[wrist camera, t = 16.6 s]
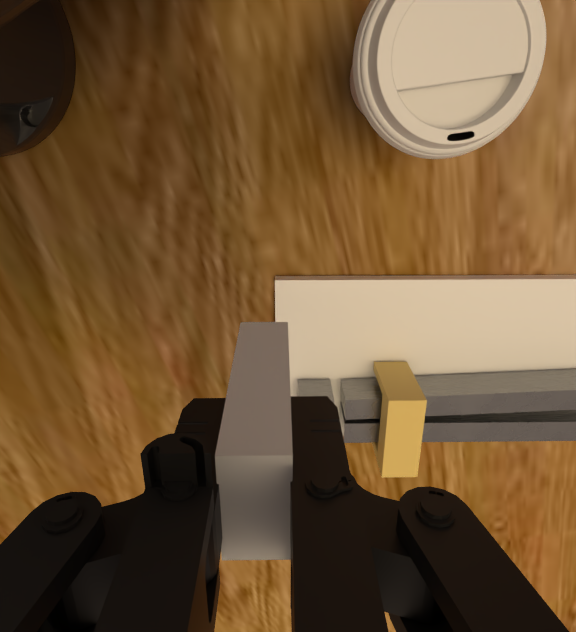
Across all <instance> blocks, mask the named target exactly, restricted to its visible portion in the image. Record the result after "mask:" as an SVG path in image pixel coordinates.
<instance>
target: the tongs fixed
mask: <svg viewBox="0 0 576 632" xmlns="http://www.w3.org/2000/svg"><path fill="white" fill-rule="evenodd" d="M298 396H328V398H329V399H330V400H331V401H332V402H333V403H334V396H333V391H332V386H331V381H330V380H298ZM339 419H340V424H341V429H342V434H343V439H344V443H363V442H378V441H379V430H380V418H376V419H353V420H345V416H344V411H343V407H342V402H340V414H339ZM480 441H576V410H558V411H535V412H512V413H490V414H467V415H444V416H425V420H424V428H423V436H422V442H480Z"/></svg>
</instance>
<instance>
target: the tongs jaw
mask: <svg viewBox="0 0 576 632" xmlns="http://www.w3.org/2000/svg"><path fill="white" fill-rule="evenodd" d="M415 378H416V380H417V382H418V384H419V386H420V388H421V390H422V392H423V394H424V396H425V398H426V400H427V404H426V412H425V416H444V415H467V414H490V413H512V412H535V411H558V410H576V369H568V370H545V371H522V372H500V373H477V374H454V375H432V376H415ZM341 402H342V407H343V411H344V416H345V420H353V419H376V418H381V407H382V392H381V389H380V386H379V384H378V381H377V378H364V379H341Z"/></svg>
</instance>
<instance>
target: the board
mask: <svg viewBox="0 0 576 632" xmlns="http://www.w3.org/2000/svg"><path fill="white" fill-rule="evenodd" d="M275 322H288V339H289V367H290V394H291V396H298V380H330V381H331V386H332V391H333V396H334V404H335V405H336V406H337V409H338V414H340V402H341V379H364V378H376V376H375V373H374V370H373V368H374V362H407V363H408V365H409V367H410V369H411V371H412V372H413V374H414V376H432V375H454V374H477V373H500V372H522V371H545V370H568V369H576V275H405V276H275Z"/></svg>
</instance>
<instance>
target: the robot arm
mask: <svg viewBox="0 0 576 632" xmlns="http://www.w3.org/2000/svg"><path fill="white" fill-rule="evenodd" d="M74 80H75V52H74V45H73V40H72V35H71V31H70V28H69V24H68V21H67V19H66V16H65V13H64V11H63V9H62V6H61V4H60V2H59V0H0V156H6V155H12V154H16V153H19V152H22V151H25V150H27V149H29V148H31V147H33V146H35V145H36V144H38V143H40V142H41V141H42V140H44V139H45V138H46V137H47V136H48V135H49V134H50V133H51V132H52V131H53V130H54V129H55V128H56V126H57V125H58V124H59V122H60V121H61V119H62V117H63V116H64V114H65V112H66V110H67V107H68V105H69V102H70V99H71V96H72V92H73V87H74ZM141 460H142V468H143V475H144V482H145V491H144V493H143V494H141V495H139V496H137V497H135V498H133V499H130V500H127V501H124V502H120V503H116V504H112V505H108V506H104V507H101V503H100V502H99V500H98V499H97V498H96V497H95V496H93V495H91V494H88V493H86V492H70V493H65V494H61V495H57V496H55V497H53V498H51V499H49V500H47V501H45V502H43V503H42V504H40V505H39V506H38V507H37V508H35V509H34V510H33V511H32V512H31V513H30V514H29V515H28V516H27V517H26V518H25V519H24V520H23V521H22V522H21V523H20V524H19V525H18V526H17V528H16V529H15V530H14V531H13V532H12V533H11V534H10V535H9V536H8V537H7V538H6V539H5V540H4V541H3V542H2V543H1V544H0V632H214V628H215V620H216V612H217V604H218V596H219V588H220V576H219V560H220V553H221V552H222V560H286V559H291V619H292V632H388V628H387V623H386V618H385V613H384V612H388V613H389V616H390V619H391V621H392V624H393V626H394V628H395V630H396V632H569V631H568V630H567V628H566V627H565V626H564V625H563V623H562V622H561V621H560V620H559V619H558V617H557V616H556V615H555V614H554V612H553V611H552V610H551V609H550V607H549V606H548V605H547V604H546V602H545V601H544V600H543V599H542V597H541V596H540V595H539V594H538V593H537V591H536V590H535V589H534V588H533V586H532V585H531V584H530V583H529V581H528V580H527V579H526V578H525V576H524V575H523V574H522V573H521V571H520V570H519V569H518V568H517V567H516V565H515V564H514V563H513V562H512V560H511V559H510V558H509V557H508V555H507V554H506V553H505V552H504V550H503V549H502V548H501V547H500V546H499V544H498V543H497V542H496V541H495V539H494V538H493V537H492V536H491V534H490V533H489V532H488V531H487V529H486V528H485V527H484V526H483V524H482V523H481V522H480V521H479V520H478V518H477V517H476V516H475V515H474V513H473V512H472V511H471V510H470V508H469V507H468V506H467V505H466V504H465V503H464V502H463V501H462V500H461V499H460V498H458V497H457V496H456V495H454V494H452V493H450V492H448V491H446V490H443V489H439V488H434V487H417V488H414V489H412V490H409V491H407V492H406V493H405V494H404V495H403V496H402V497H401V498H400V501H396V500H392V499H388V498H384V497H380V496H377V495H374V494H372V493H370V492H368V491H366V490H364V489H363V488H362V487H361V486H359V485H358V484H357V482H356V480H355V478H354V477H353V476H352V475H351V473H350V470H349V465H348V460H347V455H346V450H345V445H344V439H343V434H342V429H341V424H340V419H339V414H338V409H337V406H336V405H335V404H334V403H333V402H332V401H331V400H330V399H329V398H328V396H291V394H290V367H289V339H288V322H241V323H240V329H239V334H238V339H237V344H236V349H235V354H234V359H233V365H232V370H231V375H230V380H229V385H228V390H227V396H226V398H194V399H193V400H192V401H191V402H190V403H189V404H188V405H187V406H186V407H185V408H183V409H182V412H181V415H180V418H179V421H178V425H177V427H176V430H175V433H174V434H168V435H165V436H163V437H160V438H157V439H155V440H154V441H152V442H151V443H150V444H148V445H147V446H146V447H145V448H144V450H143V451H142V453H141Z"/></svg>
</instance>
